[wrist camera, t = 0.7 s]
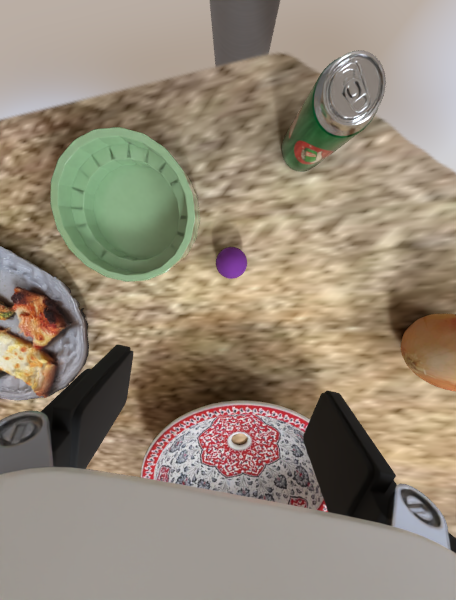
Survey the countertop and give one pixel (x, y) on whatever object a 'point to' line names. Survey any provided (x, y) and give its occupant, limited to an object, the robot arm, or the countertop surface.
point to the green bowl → (124, 204)
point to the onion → (432, 349)
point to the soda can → (335, 109)
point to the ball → (231, 262)
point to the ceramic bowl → (238, 453)
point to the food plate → (37, 331)
